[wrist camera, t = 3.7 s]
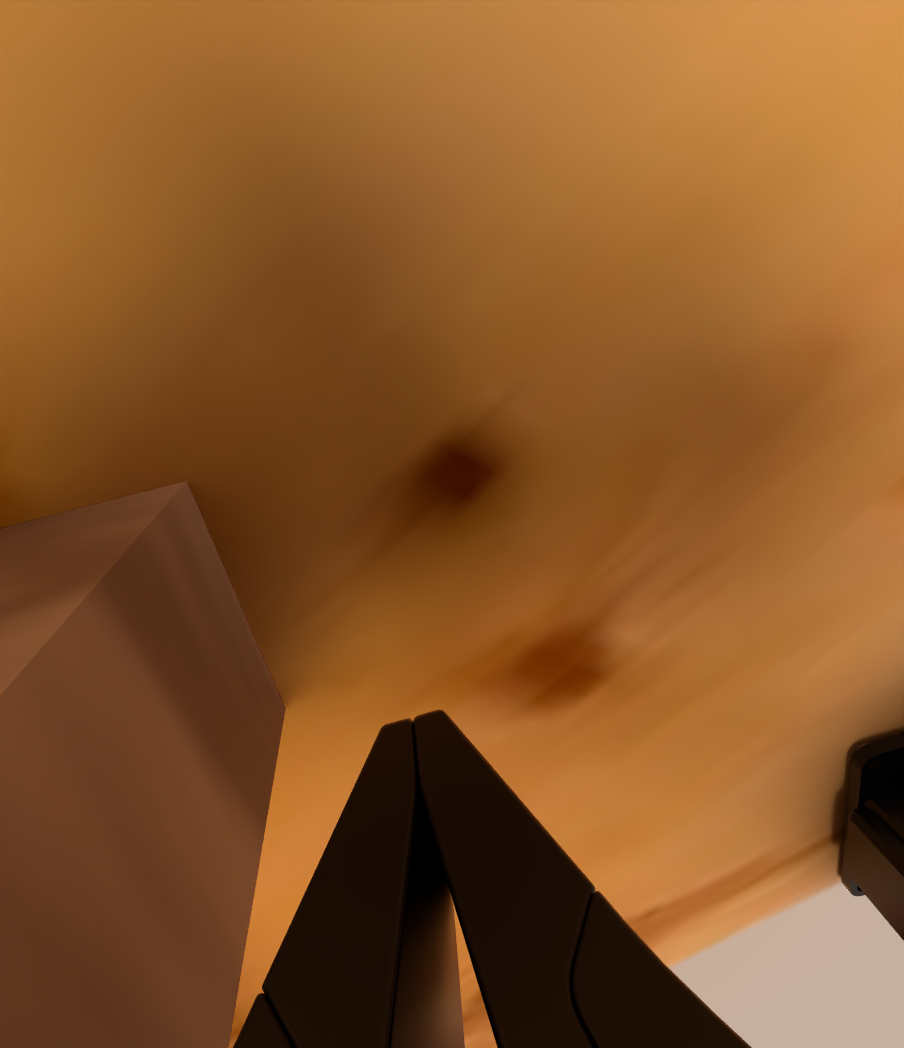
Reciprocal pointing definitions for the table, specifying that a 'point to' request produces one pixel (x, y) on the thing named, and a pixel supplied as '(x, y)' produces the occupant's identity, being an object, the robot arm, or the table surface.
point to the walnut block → (127, 778)
